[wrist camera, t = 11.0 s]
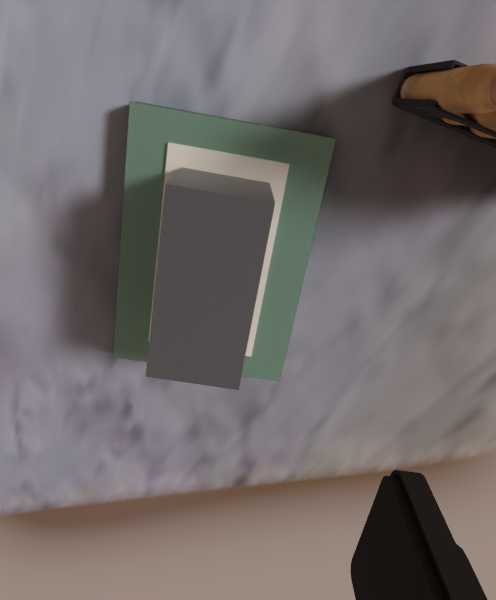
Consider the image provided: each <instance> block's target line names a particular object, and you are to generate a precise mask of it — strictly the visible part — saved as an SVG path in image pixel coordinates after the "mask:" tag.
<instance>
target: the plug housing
mask: <svg viewBox="0 0 496 600" xmlns="http://www.w3.org/2000/svg"><path fill="white" fill-rule="evenodd" d="M274 206H275V201H274V197H273V193H272V189H271V186H270V183H267V182H262V181H256V180H250V179H245V178H239V177H234V176H228V175H222V174H217V173H211V172H205V171H200V170H194V169H188V168H183V167H182V168H181V169H180V170H179V171H178V172H177V173H176V174H175V175H174V176H173V177H172V178H171V179H170V180H169V181H168V182H167V183H166V186H165V195H164V205H163V215H162V224H161V234H160V244H159V254H158V263H157V273H156V283H155V293H154V302H153V312H152V322H151V332H150V341H149V351H148V361H147V371H146V376H147V377H153V378H160V379H167V380H174V381H181V382H188V383H194V384H201V385H208V386H215V387H222V388H229V389H235V390H239V385H240V380H241V375H242V370H243V365H244V359H245V354H246V349H247V344H248V339H249V334H250V329H251V324H252V319H253V313H254V308H255V303H256V298H257V293H258V288H259V283H260V278H261V273H262V268H263V262H264V257H265V252H266V247H267V242H268V237H269V232H270V227H271V222H272V217H273V211H274Z"/></svg>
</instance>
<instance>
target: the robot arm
mask: <svg viewBox="0 0 496 600" xmlns="http://www.w3.org/2000/svg"><path fill="white" fill-rule="evenodd" d="M351 578H352V584H353V588H354V593H355V598H356V600H487V598H486V596H485V594H484V592H483V590H482V587H481V585H480V583H479V581H478V579H477V577H476V575H475V573H474V571H473V569H472V566H471V564H470V562H469V560H468V558H467V556H466V555H465V553H464V551H463V550H462V548H460V547H459V546H458V545H457V544H456V543H455V541H454V539H453V537H452V535H451V533H450V530H449V528H448V526H447V524H446V522H445V519H444V517H443V515H442V513H441V511H440V509H439V507H438V504H437V502H436V500H435V498H434V496H433V494H432V491H431V490H430V487H429V485H428V483H427V481H426V479H425V477H424V476H423V475H422V474H421V473H414V472H407V471H400V470H394V471H393V472H392V473H391V475H390V476H384V477H383V479H382V481H381V484H380V486H379V489H378V492H377V494H376V497H375V500H374V503H373V505H372V508H371V511H370V513H369V516H368V518H367V521H366V524H365V526H364V529H363V532H362V534H361V537H360V540H359V542H358V545H357V548H356V550H355V553H354V556H353V558H352V562H351Z"/></svg>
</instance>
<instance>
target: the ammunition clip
mask: <svg viewBox="0 0 496 600" xmlns="http://www.w3.org/2000/svg"><path fill="white" fill-rule="evenodd" d="M392 104H393V105H394V106H396V107H398V108H401V109H403V110H406V111H408V112H410V113H413V114H415V115H418V116H420V117H423V118H425V119H427V120H430V121H432V122H435V123H437V124H440V125H442V126H444V127H447V128H449V129H452V130H454V131H457V132H459V133H461V134H464V135H466V136H469V137H471V138H474V139H476V140H478V141H481V142H483V143H486V144H488V145H491V146H493V147H495V148H496V64H481V65H473V66H467V65H465V64H463V63H460V62H458V61H456V60H451V61H444V62H438V63H431V64H424V65H418V66H411V67H407V69H406V71H405V74H404V76H403V78H402V80H401V83H400V85H399V87H398V89H397V92H396V94H395V96H394V98H393V100H392Z"/></svg>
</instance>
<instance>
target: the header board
mask: <svg viewBox="0 0 496 600" xmlns="http://www.w3.org/2000/svg"><path fill="white" fill-rule="evenodd" d="M335 142H336V139H334V138H331V137H327V136H321V135H316V134H310V133H305V132H299V131H294V130H289V129H283V128H278V127H272V126H267V125H261V124H256V123H250V122H245V121H239V120H234V119H228V118H223V117H218V116H212V115H207V114H201V113H196V112H190V111H185V110H179V109H174V108H168V107H163V106H157V105H152V104H147V103H141V102H130V105H129V120H128V135H127V150H126V166H125V181H124V196H123V211H122V226H121V241H120V256H119V271H118V286H117V301H116V316H115V331H114V346H113V357H117V358H124V359H131V360H137V361H144V362H147V361H148V351H149V341H150V332H151V322H152V312H153V302H154V293H155V283H156V273H157V263H158V254H159V244H160V234H161V224H162V215H163V205H164V195H165V186H166V183H167V182H168V181H169V180H170V179H171V178H172V177H173V176H174V175H175V174H176V173H177V172H178V171H179V170H180V169H181V168H182V167H183V168H188V169H194V170H200V171H205V172H211V173H217V174H222V175H228V176H234V177H239V178H245V179H250V180H256V181H262V182H267V183H270V186H271V189H272V193H273V197H274V201H275V206H274V211H273V217H272V222H271V227H270V232H269V237H268V242H267V247H266V252H265V257H264V262H263V268H262V273H261V278H260V283H259V288H258V293H257V298H256V303H255V308H254V313H253V319H252V324H251V329H250V334H249V339H248V344H247V349H246V354H245V359H244V365H243V370H242V375H241V376H247V377H254V378H260V379H267V380H274V381H280V378H281V374H282V370H283V365H284V361H285V357H286V352H287V348H288V344H289V340H290V335H291V331H292V327H293V322H294V318H295V314H296V309H297V305H298V301H299V297H300V292H301V288H302V284H303V279H304V275H305V271H306V266H307V262H308V258H309V253H310V249H311V245H312V241H313V236H314V232H315V228H316V223H317V219H318V215H319V210H320V206H321V202H322V198H323V193H324V189H325V185H326V180H327V176H328V172H329V167H330V163H331V159H332V154H333V150H334V146H335Z"/></svg>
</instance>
